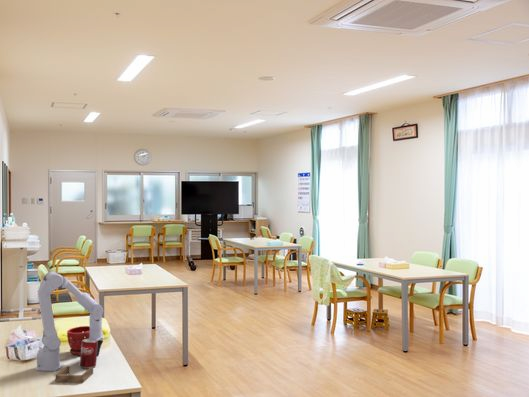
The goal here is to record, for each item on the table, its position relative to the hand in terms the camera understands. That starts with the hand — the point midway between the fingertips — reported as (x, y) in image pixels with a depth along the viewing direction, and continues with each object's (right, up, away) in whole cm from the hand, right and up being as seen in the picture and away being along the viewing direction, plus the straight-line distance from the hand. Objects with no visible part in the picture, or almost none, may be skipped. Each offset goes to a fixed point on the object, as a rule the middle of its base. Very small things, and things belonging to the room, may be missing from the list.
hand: (96, 356), depth 266 cm
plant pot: (-11, -2, +12) cm, 16 cm away
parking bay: (-2, -3, -24) cm, 24 cm away
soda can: (-1, -2, -10) cm, 10 cm away
